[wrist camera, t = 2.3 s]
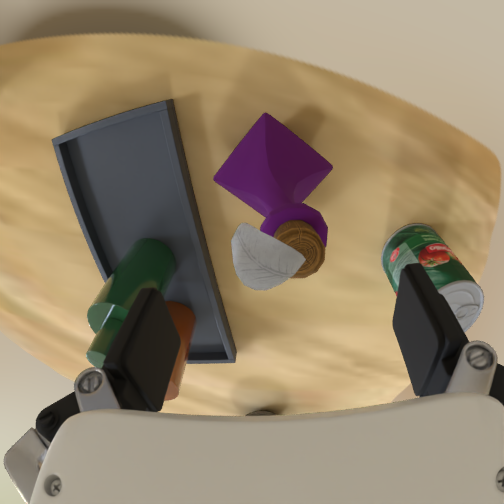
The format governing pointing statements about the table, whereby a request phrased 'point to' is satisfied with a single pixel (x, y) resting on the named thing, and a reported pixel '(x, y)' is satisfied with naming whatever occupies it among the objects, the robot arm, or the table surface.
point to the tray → (146, 210)
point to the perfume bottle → (276, 205)
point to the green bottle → (127, 291)
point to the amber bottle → (186, 329)
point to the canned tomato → (434, 269)
